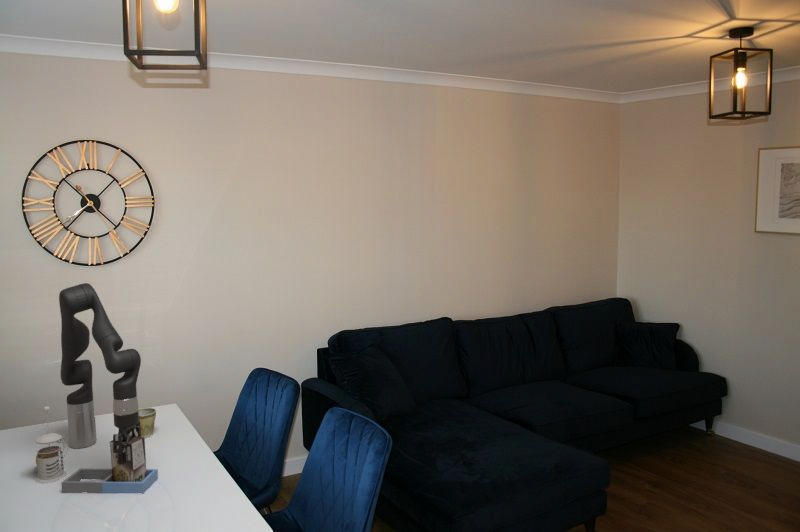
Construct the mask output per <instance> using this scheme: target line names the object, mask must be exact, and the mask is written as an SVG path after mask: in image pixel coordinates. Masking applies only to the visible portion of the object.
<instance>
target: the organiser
mask: <svg viewBox="0 0 800 532" xmlns="http://www.w3.org/2000/svg"><path fill="white" fill-rule="evenodd" d="M146 475H147V477H146V478H145V479H144V480H143V481H142V482H112V468H89V467H87V468H86V467H85V468H84V467H83V468H82V467H81V468H79V469H77V470H76V471H75V472H73V473H72V474H70V476H68V477H67V478H64V479H63V481H61V482H60V483H61V493H62V494H83V493H82V492H87V493H86V494H117V493H142V494H141V495H143V493H144V492H145V491H146V490H147V489H148V488H149V487H150V486H151V485H152V484H153V483H154V482H155V481H156V482H157V481H158V480H159V472H158V468H146ZM81 479H104V480H101V481H96V480H94V481H93V480H90V481H89V480H86V481H85V480H81ZM157 479H158V480H157ZM80 480H81V481H80ZM156 482H155V483H156ZM155 483H154V484H155ZM152 486H153V485H152ZM152 486H151V487H152ZM151 487H150V488H151ZM150 488H149V489H150ZM149 489H148V490H149ZM148 490H147V491H148ZM147 491H146V492H147ZM146 492H145V493H146ZM145 493H144V494H145Z"/></svg>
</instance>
